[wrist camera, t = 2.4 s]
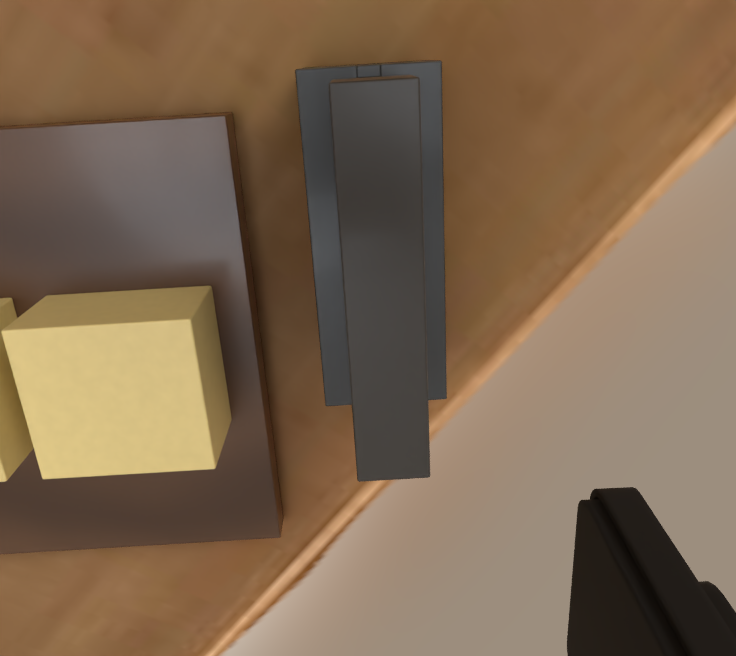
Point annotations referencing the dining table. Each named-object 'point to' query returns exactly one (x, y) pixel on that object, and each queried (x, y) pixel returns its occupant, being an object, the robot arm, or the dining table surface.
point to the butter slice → (10, 406)
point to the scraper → (383, 270)
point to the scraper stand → (326, 222)
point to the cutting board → (139, 272)
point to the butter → (121, 381)
